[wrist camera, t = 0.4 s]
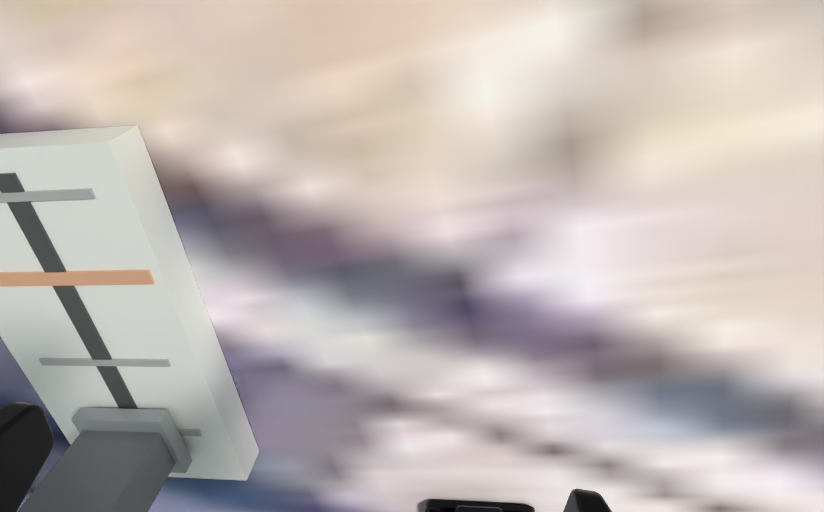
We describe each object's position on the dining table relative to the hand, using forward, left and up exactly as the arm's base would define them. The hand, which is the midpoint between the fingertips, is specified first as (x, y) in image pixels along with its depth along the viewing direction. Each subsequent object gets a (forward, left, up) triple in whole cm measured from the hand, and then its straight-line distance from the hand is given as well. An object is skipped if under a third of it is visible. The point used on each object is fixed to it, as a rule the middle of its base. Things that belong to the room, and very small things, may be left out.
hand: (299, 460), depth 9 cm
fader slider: (-14, +16, -12) cm, 24 cm away
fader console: (-8, +16, -14) cm, 23 cm away
